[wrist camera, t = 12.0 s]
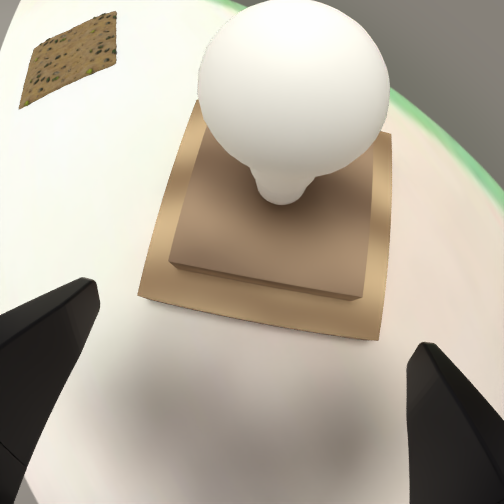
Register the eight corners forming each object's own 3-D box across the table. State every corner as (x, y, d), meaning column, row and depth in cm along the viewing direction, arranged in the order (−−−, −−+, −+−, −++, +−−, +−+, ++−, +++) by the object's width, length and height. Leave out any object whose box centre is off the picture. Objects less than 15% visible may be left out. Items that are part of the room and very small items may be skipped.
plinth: (367, 340, 19) (392, 341, 15) (148, 299, 20) (124, 290, 16) (382, 148, 22) (400, 118, 18) (200, 115, 23) (192, 81, 19)
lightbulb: (219, 243, 16) (158, 95, 6) (226, 140, 18) (199, -30, 7) (339, 246, 16) (448, 113, 6) (331, 144, 18) (385, -18, 7)
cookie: (34, 51, 28) (31, 46, 27) (118, 12, 28) (116, 7, 27) (19, 113, 25) (14, 108, 24) (118, 66, 25) (115, 60, 25)
